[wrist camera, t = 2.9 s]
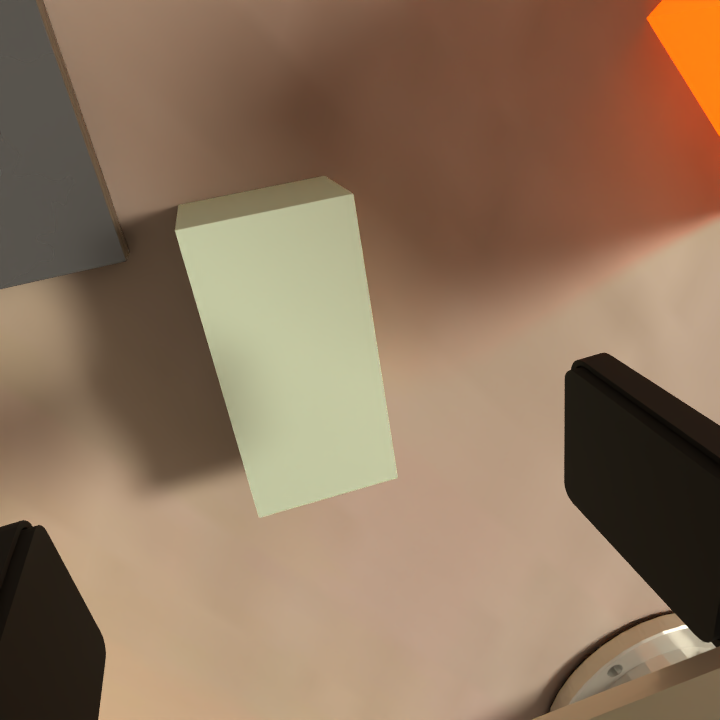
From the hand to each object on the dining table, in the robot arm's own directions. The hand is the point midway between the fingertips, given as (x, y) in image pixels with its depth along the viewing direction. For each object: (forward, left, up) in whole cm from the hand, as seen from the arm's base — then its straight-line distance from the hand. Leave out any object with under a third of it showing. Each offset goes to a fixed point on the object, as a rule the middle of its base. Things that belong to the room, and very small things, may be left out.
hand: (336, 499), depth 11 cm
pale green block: (0, +1, -11) cm, 11 cm away
